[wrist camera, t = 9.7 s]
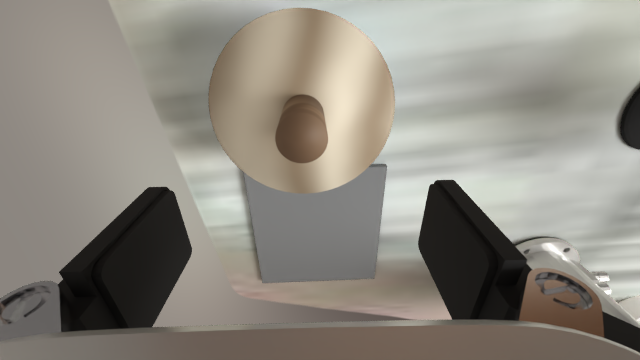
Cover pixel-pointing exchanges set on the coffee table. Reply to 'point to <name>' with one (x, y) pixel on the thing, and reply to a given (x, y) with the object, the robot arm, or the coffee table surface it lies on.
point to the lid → (301, 100)
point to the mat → (318, 229)
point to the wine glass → (632, 121)
